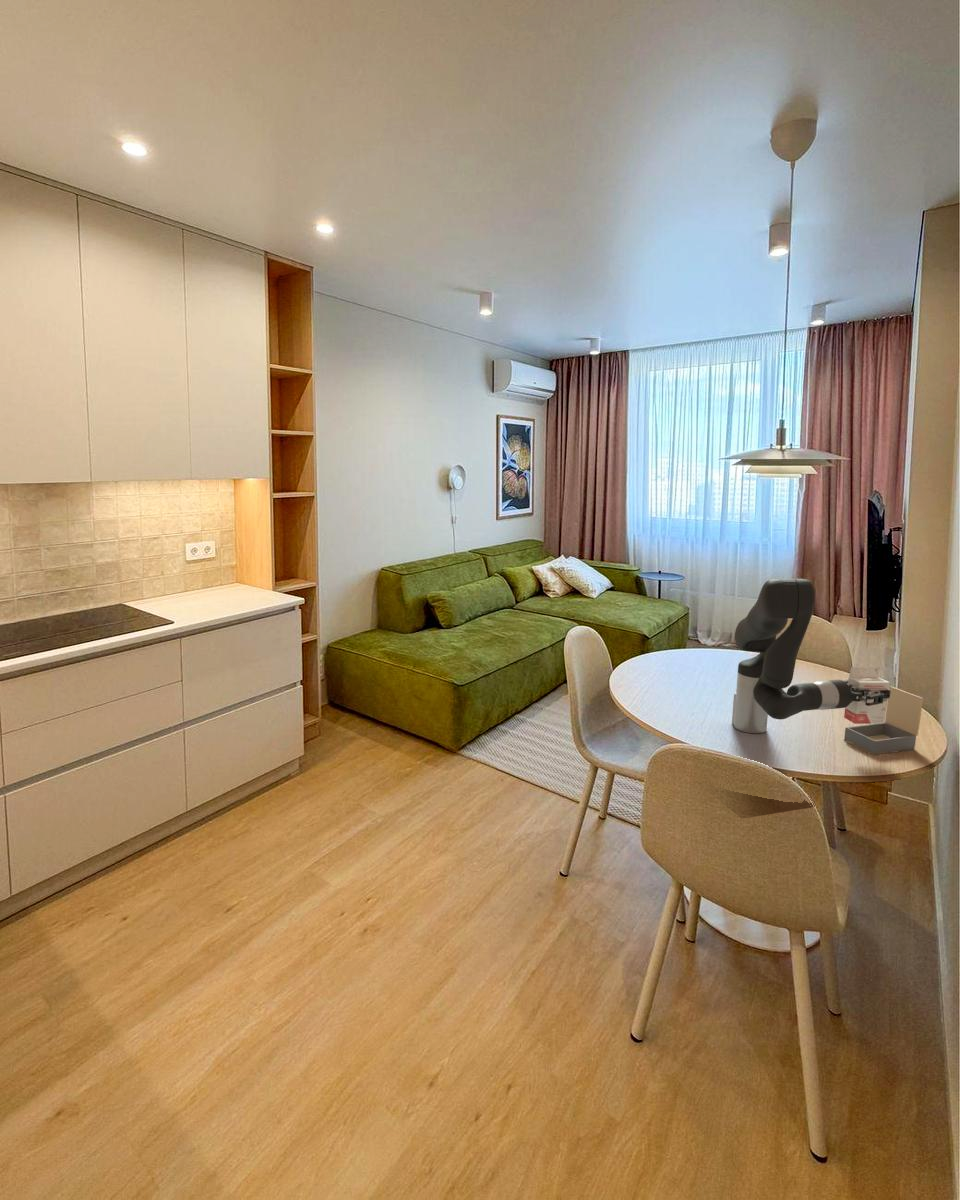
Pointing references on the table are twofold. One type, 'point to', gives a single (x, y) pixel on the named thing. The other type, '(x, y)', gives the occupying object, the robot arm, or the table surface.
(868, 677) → the ink cartridge box
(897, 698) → the mailer box
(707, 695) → the table surface
